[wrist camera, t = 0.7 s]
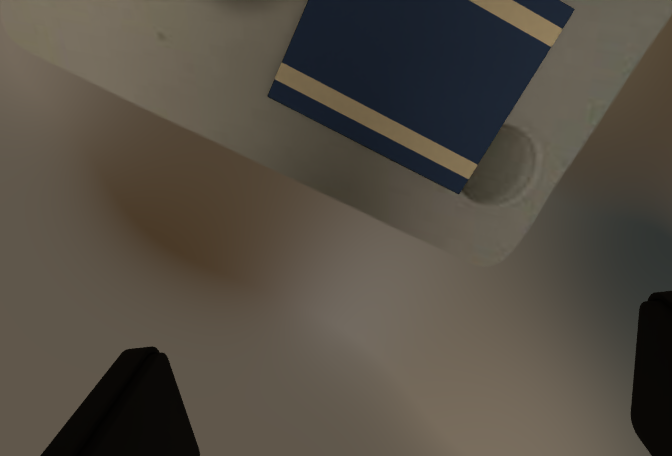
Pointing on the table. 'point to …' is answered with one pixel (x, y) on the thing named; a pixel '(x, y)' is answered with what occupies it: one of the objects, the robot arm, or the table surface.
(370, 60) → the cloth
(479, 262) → the table surface
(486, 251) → the table surface
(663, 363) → the robot arm
